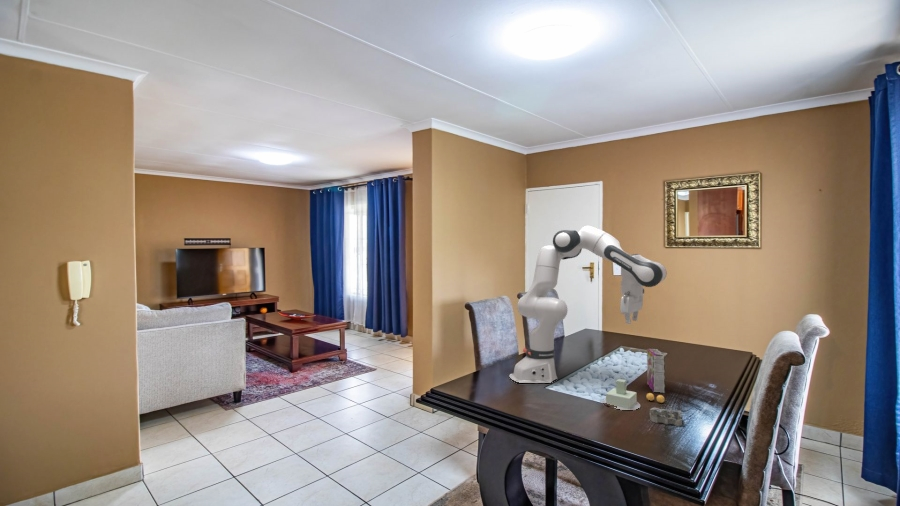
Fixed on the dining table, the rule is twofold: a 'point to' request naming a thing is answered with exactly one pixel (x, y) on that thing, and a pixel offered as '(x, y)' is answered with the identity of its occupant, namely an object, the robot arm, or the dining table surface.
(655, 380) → the candy bar box
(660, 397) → the amber marble
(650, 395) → the amber marble
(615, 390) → the sage cover
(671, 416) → the egg carton
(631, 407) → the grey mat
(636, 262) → the robot arm
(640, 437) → the dining table surface
